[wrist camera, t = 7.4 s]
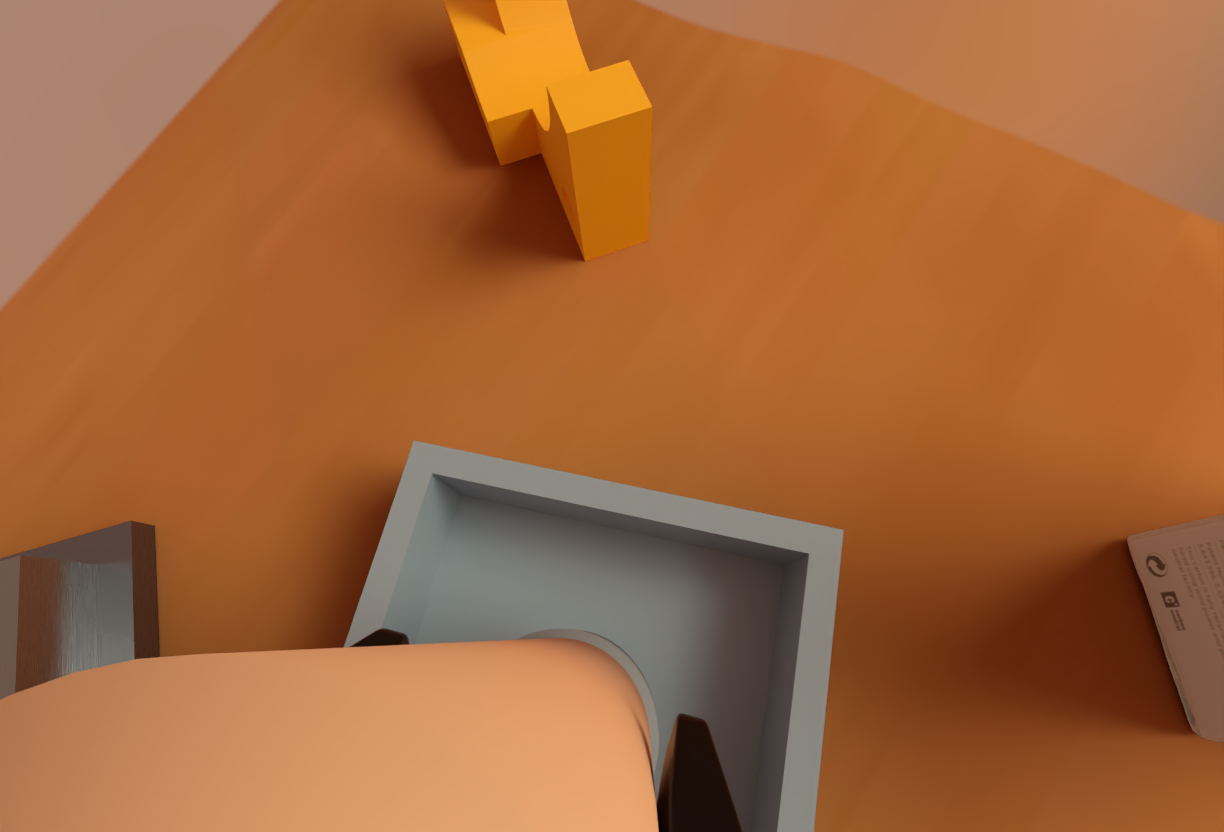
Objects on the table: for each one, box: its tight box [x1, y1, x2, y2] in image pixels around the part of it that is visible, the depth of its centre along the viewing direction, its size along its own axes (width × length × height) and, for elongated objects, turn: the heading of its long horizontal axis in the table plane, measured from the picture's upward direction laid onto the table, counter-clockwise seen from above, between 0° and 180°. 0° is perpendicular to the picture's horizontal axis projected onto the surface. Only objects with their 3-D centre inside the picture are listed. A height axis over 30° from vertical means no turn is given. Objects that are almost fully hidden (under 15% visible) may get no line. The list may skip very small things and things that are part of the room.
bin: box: [343, 441, 844, 832], centre depth 16 cm, size 12×12×4 cm
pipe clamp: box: [443, 0, 652, 261], centre depth 22 cm, size 12×4×6 cm, turn 20°
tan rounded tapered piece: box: [0, 628, 659, 832], centre depth 8 cm, size 4×4×14 cm
